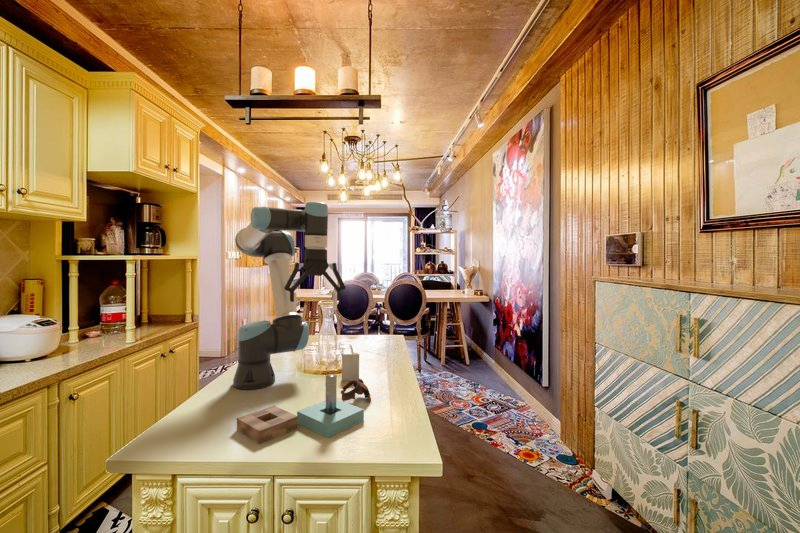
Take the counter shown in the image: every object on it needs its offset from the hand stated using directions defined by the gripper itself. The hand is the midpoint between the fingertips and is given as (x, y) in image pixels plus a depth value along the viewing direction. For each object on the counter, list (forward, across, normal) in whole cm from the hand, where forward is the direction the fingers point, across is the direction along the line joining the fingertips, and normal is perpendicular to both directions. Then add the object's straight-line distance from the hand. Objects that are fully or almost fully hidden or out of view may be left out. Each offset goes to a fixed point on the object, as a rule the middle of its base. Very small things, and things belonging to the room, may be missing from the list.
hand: (315, 310), depth 130 cm
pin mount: (+31, -16, -18) cm, 39 cm away
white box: (+31, +17, +17) cm, 40 cm away
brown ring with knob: (+31, +14, -5) cm, 35 cm away
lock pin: (+31, +2, -19) cm, 36 cm away
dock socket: (+31, +2, -19) cm, 36 cm away
